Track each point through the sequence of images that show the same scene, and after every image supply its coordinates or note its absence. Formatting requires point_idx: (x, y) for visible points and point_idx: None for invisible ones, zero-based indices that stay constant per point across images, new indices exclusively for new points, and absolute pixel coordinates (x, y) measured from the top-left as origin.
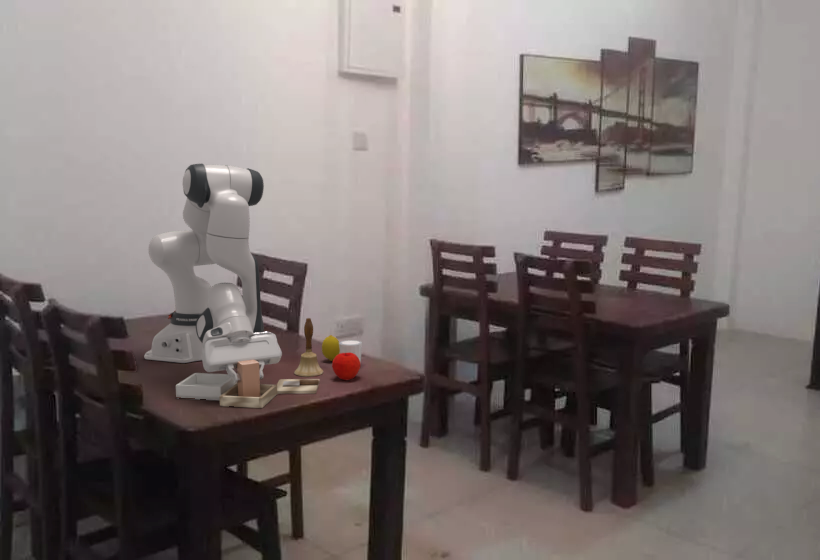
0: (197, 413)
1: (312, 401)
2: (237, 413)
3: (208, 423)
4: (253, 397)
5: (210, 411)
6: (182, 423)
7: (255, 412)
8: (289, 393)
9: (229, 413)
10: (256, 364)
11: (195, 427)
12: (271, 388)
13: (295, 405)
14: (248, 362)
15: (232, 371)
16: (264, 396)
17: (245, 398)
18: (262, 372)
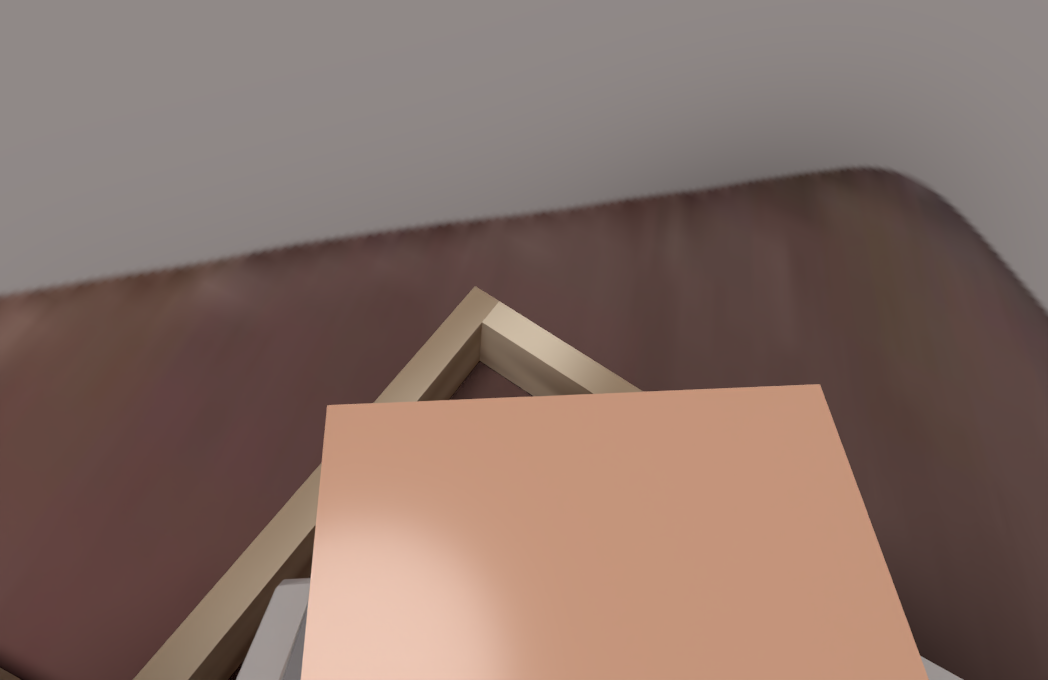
0: (942, 421)
1: (26, 313)
2: (664, 300)
3: (838, 213)
4: (538, 342)
5: (853, 426)
6: (989, 274)
7: (544, 267)
8: (10, 675)
9: (717, 323)
10: (422, 411)
11: (900, 189)
12: (235, 589)
13: (216, 282)
14: (630, 597)
15: (926, 670)
16: (431, 337)
17: (606, 372)
18: (257, 638)
